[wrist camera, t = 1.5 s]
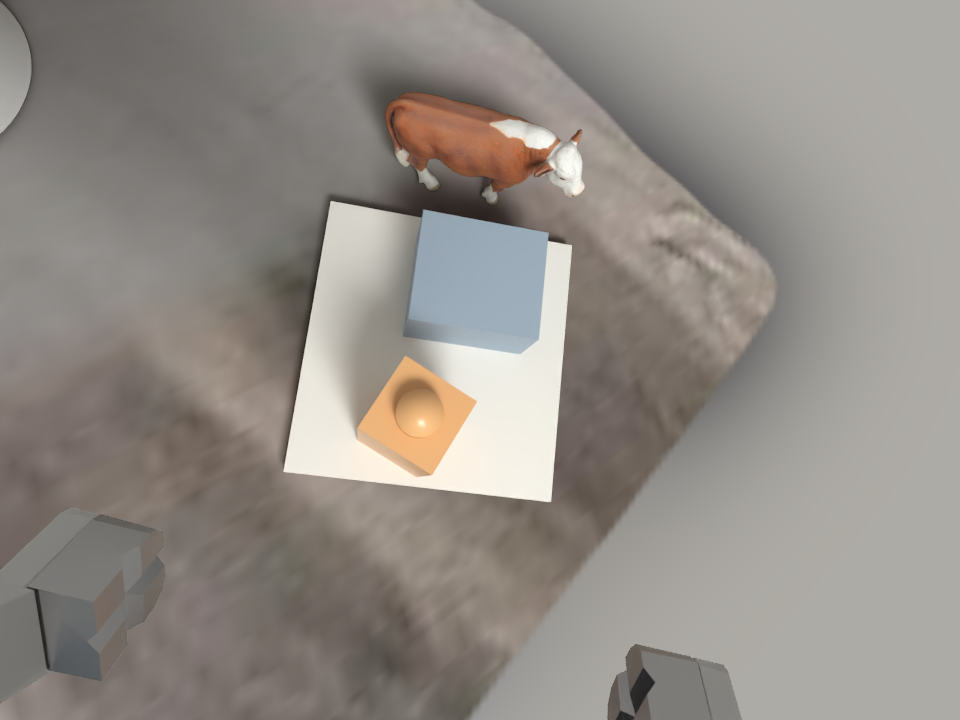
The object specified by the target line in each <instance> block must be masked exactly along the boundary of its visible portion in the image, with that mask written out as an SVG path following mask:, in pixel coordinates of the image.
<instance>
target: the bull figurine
mask: <svg viewBox="0 0 960 720" xmlns="http://www.w3.org/2000/svg"><path fill="white" fill-rule="evenodd" d="M392 117H393V124H392ZM385 121H386V125H387V128H388V131H389V134H390V136H391V138H392V140H393V144H394V150H395V154H396V157H397V159H398V160H399V162H400V163H401V164H402V165H403V166H404V167H408V166H409V164H411V165H412V166H414V168H415V169H416V170H417V172H418V176H419V183H424V184H425V185H426V188H427V189H428V190H431V191H435V190H437V189H438V188H439V186H440V183H439V181H438V180H437V179H436V177H435V176H433V175H432V174H431V173H430V172H429V171H428V169H427V162H428V160H429V159H434V158H437V159H439V160H440V161H442V162H443V163H444V164H445V165H446V166H447V167H448V168H450V169H451V170H452V171H454V172H456V173H458V174H461V175H464V176H469V177H479V176H485V177H488V178H492V180H491V183H490V186H488V187H486V188H485V190H484V192H483V193H482V197H485V198H486V202H487V203H488V204H490V205H494V204H496V203H497V202H498V196H497V193H496V191H497V192H498V191H502V190H503V189H504V188H508V187H511V186H513V185H514V184H518V183H521V182H523V181H524V180H526V179H527V178H528V177H529V176H530V175H534V177H539V176H545V175H547V178H548V179H549V180H550V181H551V182H552V183H553V184H555V185H557V186H559V187H561V188H562V189H563V192H564V194H565V195H567V196H568V197H573V196H576V195H578V194H580V193H581V192H582V191H583V189H584V183H583V182H582V181H581V173H582V158H581V155H580V154H579V152H578V151H577V147H576V146H577V145H578V144H579V142H580V139H581V134H582V130H581V129H580V130H578V132H577V133H576V134H575V135H574V136H573V137H572V138H571V140H570V141H569V142H563V141H561V140H560V139H559V138H558V137H557V136H556V135H555V134H553V133H552V132H550V131H549V130H548V129H546V128H544V127H540V126H537V125H534V124H532V123H530V122H528V121H526V120H524V119H522V118H520V117H516V116H512V115H506V114H503V113H500V112H497V111H495V110H491V109H487V108H484V107H480V106H476V105H472V104H467V103H462V102H457V101H453V100H450V99H447V98H444V97H440V96H436V95H431V94H425V93H418V92H408V93H403V94H401V95H400V96H399V97H398V99H396V100H393V101H391V102H390V103H389V105H388V106H387V108H386V112H385Z"/></svg>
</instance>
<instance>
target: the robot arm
mask: <svg viewBox="0 0 960 720" xmlns="http://www.w3.org/2000/svg"><path fill="white" fill-rule="evenodd" d="M31 69H32V68H31V54H30V50H29V46H28V42H27V39H26V37H25V34H24V32H23V30H22V28H21V26H20V25H19V23H18V22H17V20H16V19H15V17H14V16H13V15H12V13H11V12H10V11H9V10H8V9H7V8H6V7H5V6H4V5H3V4H2V3H1V2H0V134H1V133H2V132H3V131H4V130H5V129H6V128H7V127H8V125H9V124H10V123H11V122H12V120H13V119H14V118H15V116H16V115H17V113H18V112H19V110H20V108H21V106H22V105H23V102H24V100H25V98H26V95H27V92H28V89H29V85H30V79H31ZM163 548H164V536H163V532H162V531H160V530H157V529H154V528H150V527H146V526H142V525H139V524H135V523H131V522H128V521H124V520H120V519H117V518H113V517H109V516H105V515H101V514H97V513H93V512H89V511H85V510H81V509H78V508H74V507H72V508H70V509H68V510H66V511H63V512H62V513H60V514H59V515H58V516H57V517H56V518H55V519H54V520H53V521H52V522H51V523H50V524H49V525H48V526H47V527H45V528H44V529H43V530H42V531H41V532H40V533H39V534H38V535H37V536H36V537H35V538H34V539H33V540H32V541H31V542H30V543H29V544H27V545H26V546H25V547H24V548H23V549H22V550H21V551H20V552H19V553H18V554H17V555H16V556H15V557H14V558H13V559H12V560H11V561H9V562H8V563H7V564H6V565H5V566H4V567H3V568H2V569H1V570H0V703H2V702H4V701H5V700H7V699H8V698H10V697H11V696H13V695H15V694H16V693H18V692H19V691H21V690H22V689H24V688H26V687H27V686H29V685H30V684H32V683H33V682H35V681H37V680H38V679H40V678H41V677H43V676H44V675H46V674H47V673H48V672H47V670H49V671H54V672H59V673H64V674H69V675H73V676H78V677H83V678H88V679H93V680H97V681H102V680H103V679H104V678H105V676H106V675H107V673H108V672H109V671H110V669H111V668H112V666H113V665H114V664H115V662H116V661H117V659H118V658H119V657H120V655H121V654H122V652H123V651H124V650H125V648H126V647H127V645H128V641H127V631H128V630H130V629H132V628H134V627H135V626H137V625H139V624H141V623H143V622H144V621H145V620H146V618H147V617H148V615H149V614H150V613H151V611H152V610H153V608H154V607H155V604H156V602H157V600H158V598H159V595H160V593H161V591H162V588H163V583H164V578H165V565H164V564H163V563H162V561H161V560H160V559H159V557H158V556H157V555H158V554H159V553H160V551H161V550H162V549H163ZM626 666H627V670H626V671H624V672H622V673H620V674H618V675H617V676H616V678H615V681H614V683H613V685H612V688H611V692H610V698H609V702H608V720H742V718H741V716H740V712H739V708H738V705H737V701H736V698H735V694H734V691H733V687H732V684H731V680H730V677H729V674H728V671H727V669H726V668H725V667H724V665H721V664H718V663H713V662H709V661H705V660H701V659H697V658H691V657H690V656H686V655H681V654H677V653H672V652H668V651H664V650H659V649H654V648H651V647H646V646H642V645H637V644H635V645H634V646H633V647H631V648H630V650H629V652H628V654H627V656H626Z"/></svg>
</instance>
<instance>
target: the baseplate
mask: <svg viewBox="0 0 960 720" xmlns="http://www.w3.org/2000/svg"><path fill="white" fill-rule="evenodd" d="M420 222H421V218H420V217H415V216H410V215H404V214H399V213H393V212H388V211H382V210H377V209H372V208H366V207H361V206H355V205H350V204H345V203H339V202H334V201H331V203H330V208H329V214H328V220H327V226H326V231H325V237H324V243H323V248H322V254H321V260H320V266H319V271H318V277H317V283H316V289H315V294H314V300H313V306H312V311H311V317H310V323H309V329H308V334H307V340H306V346H305V351H304V357H303V363H302V369H301V374H300V380H299V386H298V391H297V397H296V403H295V409H294V414H293V420H292V426H291V431H290V437H289V443H288V449H287V454H286V460H285V466H284V471H283V472H289V473H298V474H307V475H316V476H325V477H334V478H342V479H351V480H360V481H369V482H378V483H386V484H395V485H404V486H413V487H422V488H431V489H439V490H448V491H457V492H466V493H475V494H483V495H492V496H501V497H510V498H519V499H528V500H536V501H545V502H551V493H552V481H553V469H554V457H555V445H556V433H557V421H558V409H559V397H560V384H561V372H562V360H563V348H564V336H565V324H566V312H567V300H568V287H569V275H570V263H571V251H572V245H566V244H561V243H556V242H550V241H548V246H547V257H546V268H545V278H544V289H543V300H542V311H541V322H540V333H539V340H538V341H536V342H535V343H534V344H533V345H531V346H530V347H529V348H528V349H526V350H525V351H524V352H523V353H521V354H514V353H508V352H501V351H495V350H488V349H482V348H475V347H469V346H462V345H455V344H449V343H442V342H436V341H429V340H423V339H416V338H410V337H403V331H404V324H405V317H406V310H407V303H408V296H409V288H410V281H411V274H412V267H413V260H414V253H415V246H416V239H417V234H418V230H419V226H420ZM405 355H406V356H407V357H409V358H410V359H412V360H413V361H415V362H416V363H418V364H420V365H421V366H423V367H424V368H426V369H427V370H429V371H431V372H432V373H434V374H435V375H437V376H438V377H440V378H441V379H443V380H445V381H446V382H448V383H449V384H451V385H452V386H454V387H455V388H457V389H459V390H460V391H462V392H463V393H465V394H466V395H468V396H469V397H471V398H473V399H474V400H476V401H477V403H476V404H475V406H474V408H473V409H472V411H471V413H470V414H469V416H468V417H467V419H466V421H465V422H464V424H463V426H462V427H461V429H460V431H459V432H458V434H457V435H456V437H455V439H454V440H453V442H452V444H451V445H450V447H449V448H448V450H447V452H446V453H445V455H444V457H443V458H442V460H441V462H440V463H439V465H438V466H437V468H436V470H435V471H434V473H433V475H429V476H422V477H415V476H413V475H412V474H410V473H409V472H407V471H405V470H404V469H402V468H401V467H399V466H397V465H396V464H394V463H393V462H391V461H389V460H388V459H386V458H385V457H383V456H381V455H380V454H378V453H377V452H375V451H374V450H372V449H370V448H369V447H367V446H366V445H364V444H362V443H361V442H359V441H358V440H357V428H358V426H359V425H360V423H361V422H362V420H363V419H364V417H365V416H366V414H367V413H368V411H369V410H370V408H371V407H372V405H373V404H374V402H375V401H376V399H377V398H378V396H379V395H380V393H381V392H382V390H383V389H384V387H385V386H386V384H387V383H388V381H389V380H390V378H391V377H392V375H393V374H394V372H395V371H396V369H397V368H398V366H399V365H400V363H401V361H402V360H403V358H404V357H405Z"/></svg>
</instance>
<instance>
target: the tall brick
mask: <svg viewBox="0 0 960 720" xmlns="http://www.w3.org/2000/svg"><path fill="white" fill-rule="evenodd" d="M476 403H477V401H476V400H474V399H473V398H471V397H469V396H468V395H466V394H465V393H463V392H462V391H460V390H459V389H457V388H455V387H454V386H452V385H451V384H449V383H448V382H446V381H445V380H443V379H441V378H440V377H438V376H437V375H435V374H434V373H432V372H431V371H429V370H427V369H426V368H424V367H423V366H421V365H420V364H418V363H416V362H415V361H413V360H412V359H410V358H409V357H407V356H406V355H405V357H404V358H403V360H402V361H401V363H400V365H399V366H398V368H397V369H396V371H395V372H394V374H393V375H392V377H391V378H390V380H389V381H388V383H387V384H386V386H385V387H384V389H383V390H382V392H381V393H380V395H379V396H378V398H377V399H376V401H375V402H374V404H373V405H372V407H371V408H370V410H369V411H368V413H367V414H366V416H365V417H364V419H363V420H362V422H361V423H360V425H359V426H358V428H357V440H358V441H359V442H361V443H362V444H364V445H366V446H367V447H369V448H370V449H372V450H374V451H375V452H377V453H378V454H380V455H381V456H383V457H385V458H386V459H388V460H389V461H391V462H393V463H394V464H396V465H397V466H399V467H401V468H402V469H404V470H405V471H407V472H409V473H410V474H412V475H413V476H415V477H422V476H429V475H433V473H434V471H435V470H436V468H437V466H438V465H439V463H440V462H441V460H442V458H443V457H444V455H445V453H446V452H447V450H448V448H449V447H450V445H451V444H452V442H453V440H454V439H455V437H456V435H457V434H458V432H459V431H460V429H461V427H462V426H463V424H464V422H465V421H466V419H467V417H468V416H469V414H470V413H471V411H472V409H473V408H474V406H475V404H476Z"/></svg>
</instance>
